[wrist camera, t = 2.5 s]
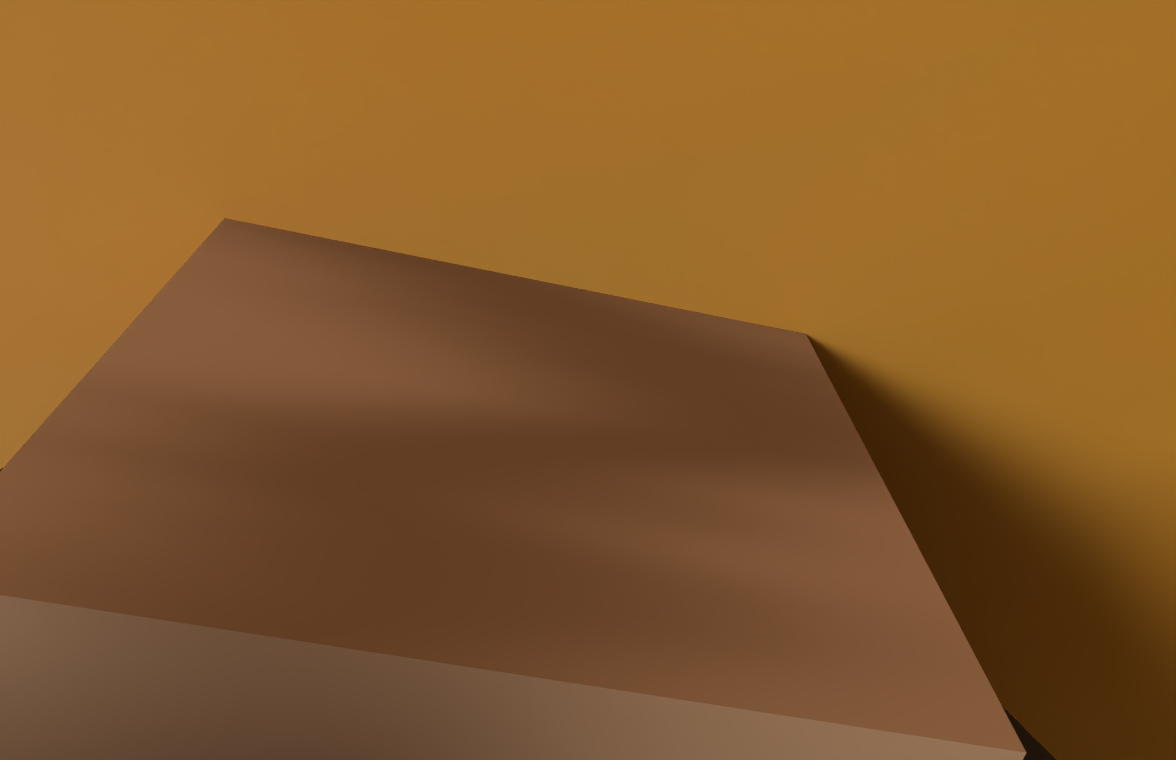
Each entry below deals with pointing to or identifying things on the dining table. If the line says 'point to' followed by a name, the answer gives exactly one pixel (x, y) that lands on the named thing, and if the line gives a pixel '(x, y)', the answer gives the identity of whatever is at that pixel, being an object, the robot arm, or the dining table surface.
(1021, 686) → the dining table surface
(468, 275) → the walnut cube
